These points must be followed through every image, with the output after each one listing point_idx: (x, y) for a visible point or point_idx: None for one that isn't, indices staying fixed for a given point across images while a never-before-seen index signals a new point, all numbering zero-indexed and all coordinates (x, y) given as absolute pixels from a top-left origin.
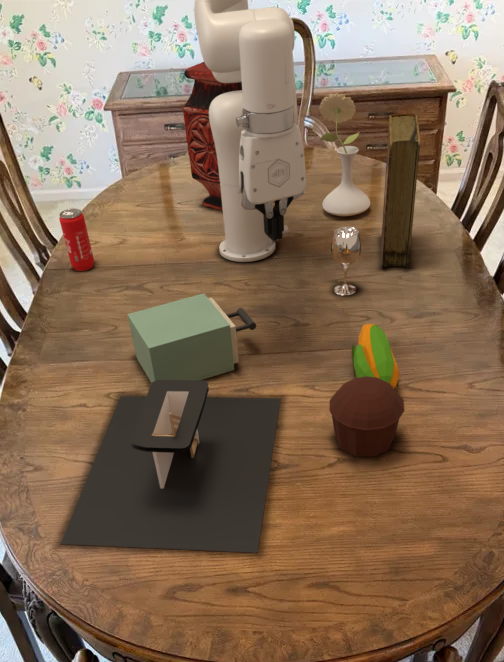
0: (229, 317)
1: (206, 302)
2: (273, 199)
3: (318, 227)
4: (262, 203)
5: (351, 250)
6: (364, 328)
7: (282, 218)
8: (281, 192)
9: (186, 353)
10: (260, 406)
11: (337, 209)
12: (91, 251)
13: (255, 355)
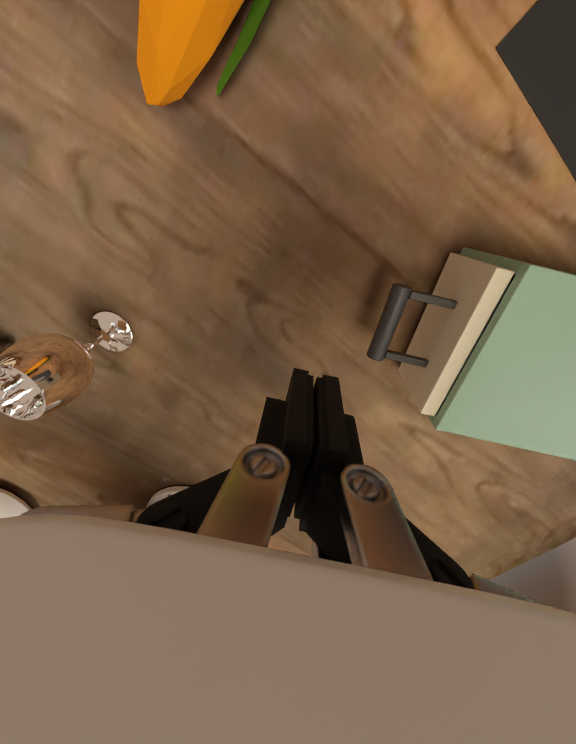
0: (405, 354)
1: (467, 395)
2: (436, 597)
3: (65, 496)
4: (547, 606)
5: (38, 345)
6: (177, 49)
7: (265, 438)
8: (325, 662)
9: None
10: (556, 53)
11: (15, 508)
12: None
13: (392, 262)
